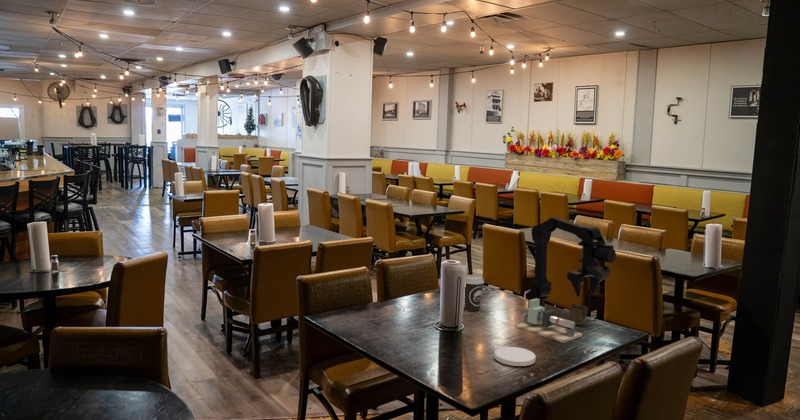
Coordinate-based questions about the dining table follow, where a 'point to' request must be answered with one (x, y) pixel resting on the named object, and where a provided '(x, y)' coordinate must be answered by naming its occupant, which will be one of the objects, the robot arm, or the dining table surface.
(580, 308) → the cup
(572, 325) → the steel pipe
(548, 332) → the base board
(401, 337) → the dining table surface
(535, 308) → the sleeve
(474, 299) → the coffee cup
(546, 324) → the rubber collar
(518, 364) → the plastic lid
